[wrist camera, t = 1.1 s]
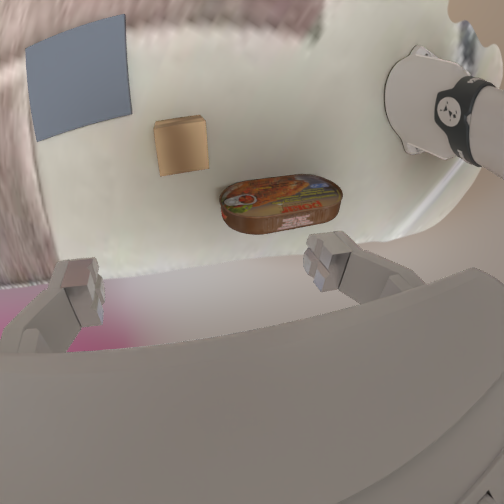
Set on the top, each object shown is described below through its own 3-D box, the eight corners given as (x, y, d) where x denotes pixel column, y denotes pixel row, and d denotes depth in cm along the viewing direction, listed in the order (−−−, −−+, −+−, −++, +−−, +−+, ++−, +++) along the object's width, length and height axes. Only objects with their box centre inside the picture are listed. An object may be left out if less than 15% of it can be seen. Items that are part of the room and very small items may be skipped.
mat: (125, 15, 18) (124, 13, 18) (132, 113, 25) (131, 114, 25) (28, 48, 16) (25, 48, 15) (39, 140, 23) (36, 142, 22)
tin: (322, 171, 37) (357, 198, 30) (320, 192, 39) (352, 221, 32) (213, 185, 34) (227, 217, 27) (216, 207, 36) (229, 243, 29)
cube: (199, 114, 28) (205, 121, 24) (203, 155, 31) (209, 168, 27) (155, 121, 27) (153, 128, 23) (161, 162, 30) (160, 176, 26)
